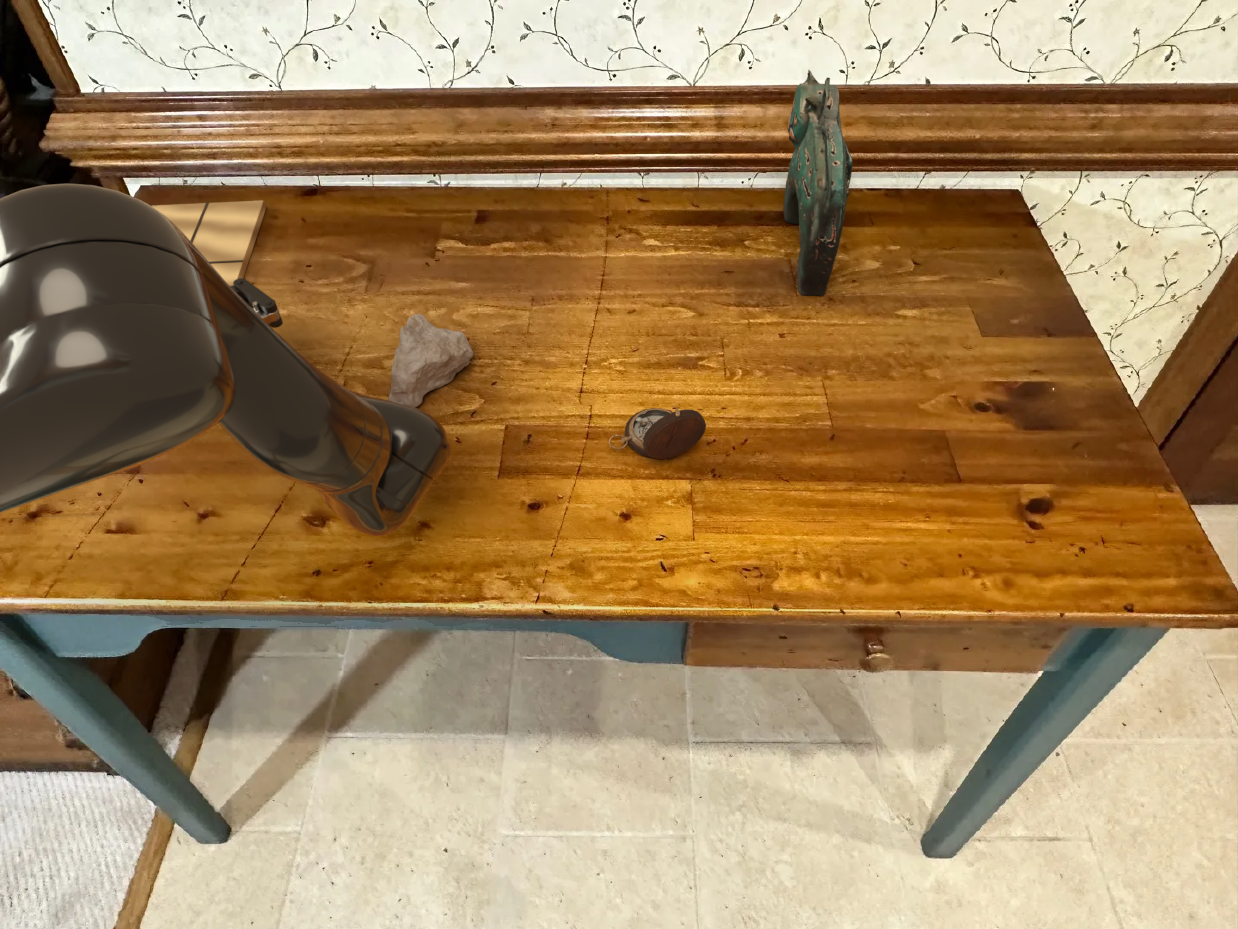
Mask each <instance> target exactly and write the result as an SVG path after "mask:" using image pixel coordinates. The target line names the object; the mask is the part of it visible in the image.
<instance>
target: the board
mask: <svg viewBox="0 0 1238 929" xmlns="http://www.w3.org/2000/svg"><path fill="white" fill-rule="evenodd" d="M151 206H152V207H153V208H155V209H156V210H158V211H159V212H161V213H162V214H163V215H165V216H166V217H167V218H168V219H169V220H170V221H172V222H173V223H174V224H175V225H176V226H177V227H178V228H179V229H180V230H181V231H182V232H183V233H184V235H185V236H186V237H187V238H188V239H189V240H190V241H191V242H192V243H193V245H194V246H195V247H196V248H197V249H198V250H199V251H200V252H201V254H202V255H203V256H204V257H205V258H206V259H207V261H208V262H209V263H210V264H211V265H212V266H213V268H214V269H215V270H216V271H217V272H218V273H219V275H220V276H221V277H222V278H223V279H224V280H225V281H226V283H227V284H228V285H229V286H232V285H234V284H233V282H234V281H235V280H236V279H239V278H244V277H245V274H246V271H247V268H248V265H249V262H250V259H251V256H252V253H253V250H254V247H255V244H256V240H257V238H258V235H259V231H260V229H261V226H262V223H263V220H264V216H265V214H266V210H267V206H266V203H265V201H264V200H243V201H242V200H241V201H222V202H220V201H219V202H210V201H206V202H201V203H200V202H199V203H178V204H177V203H176V204H154V205H151Z"/></svg>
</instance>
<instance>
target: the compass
mask: <svg viewBox="0 0 1238 929" xmlns="http://www.w3.org/2000/svg"><path fill="white" fill-rule="evenodd" d="M673 408H675V409H674V411H671V410H669V409H665V408H659V407H657V408H656V407H655V408H654V407H651V408H646V409H642V410H639V411H637V412H635V413H634V414H633V415H632V416H631V417H629V419H628V421H627V422H626V424H625V429H624V435H622V434H614V435H612V436H610V438H609V439H608V445H609V446H610V448H611V449H614V450H622V449H624V448H626V447H627V445H628V446H629V447H630V448H631V449H632V450H633V451H634V452H635V453H637V454H638V455H642V456H644V457H648V458H652V459H656V460H666V459H671V458H675V457H677V456H680V455H682V454H684V453H685V452H687V451H689V450H690V449H692V448H693V447H694V446H695V445H697V443H698V442H700V440H701V439H702V437H703V436H704V434H705V432H706V429H707V424H706V420H705V418H704V417H703V415H702V414H701V413H700V412H699V411H698V410H695V409H688V408H687V409H680V410H679V408H678V407H677V406H673ZM615 437H621V438H620V441H621V443H622V444H624V445H622V446H620V447H616V446H614V445H613V444H611V440H612V439H613V438H615Z"/></svg>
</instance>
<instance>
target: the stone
mask: <svg viewBox="0 0 1238 929" xmlns="http://www.w3.org/2000/svg"><path fill="white" fill-rule="evenodd" d="M398 337H399V344H398V346H396V348H395V352H394V356H393V360H392V365H391V373H390V380H391V382H390V384H391V387H390V390H389V391H390V393H389V395H388V398H387V400H389V401H393V402H398V403H402V404H405V405H408V406H411V407H414V408H417V407H419V406H420V405H421V404H422V403H423V398H424V397H425V395H426V394H427V393H428V392H431V391H433V390H435V389H436V390H437V389H439V388H442V387H444V386H445V385H448V384H450V383H451V382H453V380H454V378H455V376H456V374H457V373H460V371H462V370H463V369H464V368H465V367H467V366H469V364H470V361H471V358H473V356H474V351H473V349H472V347H471V345H470V342H469V340H468V338H467V336H466V334H465V333H463V332H462V331H461V330H456V331H455V330H451V329H448V328H439V327H437V326H435V325H434V324H433V323H431V322H430V321H429V320H428V319H427V318H426V317H425V315H423V314H421V313H414V314H413V315H412V316H410V317H408V318H407V321H406V325H404V326H401V327H400V329H399V335H398Z"/></svg>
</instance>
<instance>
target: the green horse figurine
mask: <svg viewBox="0 0 1238 929" xmlns="http://www.w3.org/2000/svg"><path fill="white" fill-rule="evenodd" d="M830 83H831V77H826V78H825V80H824V83H820V82H819V81H818V80H817V79H816V77H815V76H814V74H813V73H812V71H811V70H810V69H807V77H806V79H805V81H804V82H800V83H799V84H798V85H797V87H796V89H795V92H794V95H793V96H794V97H793V102H792V108H791V112H790V114H789V116H788V121H787V132H788V140H789V141H790V142H791V143H792V145H793V147H794V150H793V152H792V155H791V158H790V162H789V165H788V170H787V171H788V172H787V177H786V181H785V188H784V198H783V205H782V206H783V208H782V211H783V218H784V222H786V223H788V224H791V225H798V236H799V237H798V238H799V252H798V260H797V269H796V270H797V272H796V280H797V281H796V283H797V291H798V293H799V294H800V295H801V296H824V295H825V294H826V291H827V288H828V283H829V281H830V278H831V275H832V273H833V268H834V264H835V260H836V257H837V254H838V251H839V247H840V242H841V238H842V233H843V230H844V229H843V228H844V222H845V215H846V210H847V203H848V202H847V201H848V198H849V196H850V185H851V180H852V171H853V162H854V161H853V158H852V155H851V153H850V150H849V147H848V146H847V144H846V141H845V138H844V135H843V129H842V121H841V120H842V119H841V114H840V113H841V112H840V93H839V88H838V87H837V86H836V85H835V84H830Z"/></svg>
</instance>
